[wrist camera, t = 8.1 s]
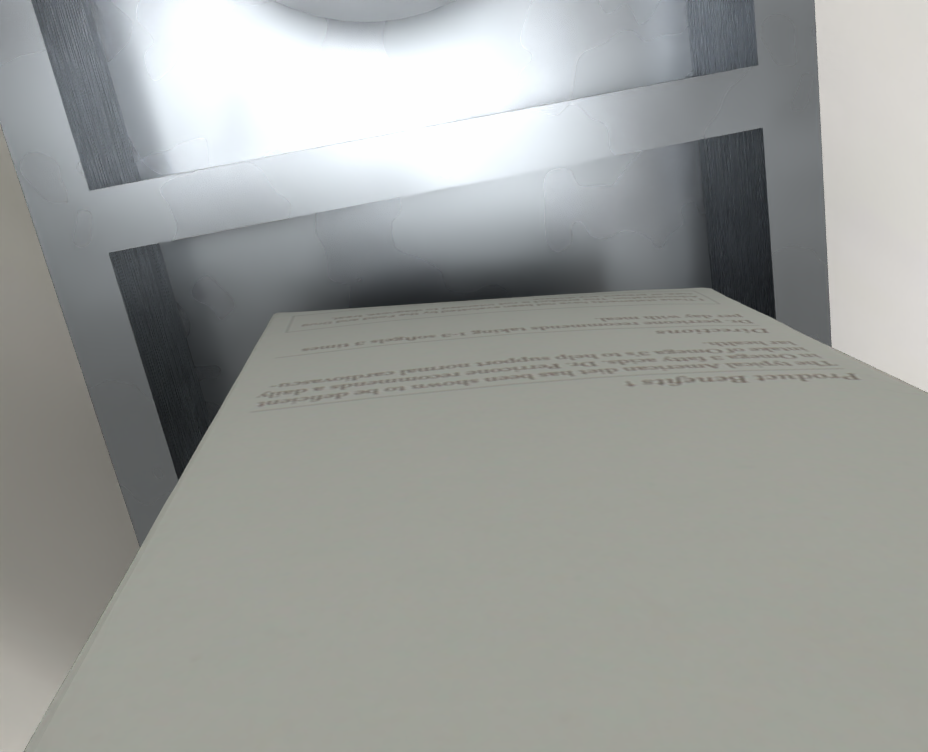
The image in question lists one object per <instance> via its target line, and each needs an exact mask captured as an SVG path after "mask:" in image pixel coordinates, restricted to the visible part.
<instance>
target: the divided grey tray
mask: <svg viewBox="0 0 928 752" xmlns="http://www.w3.org/2000/svg"><path fill="white" fill-rule="evenodd" d="M0 124H1V128H2V131H3V134H4V137H5V140H6V143H7V146H8V149H9V152H10V155H11V158H12V161H13V164H14V167H15V170H16V173H17V176H18V179H19V182H20V185H21V188H22V191H23V194H24V197H25V200H26V203H27V206H28V209H29V212H30V215H31V218H32V221H33V224H34V227H35V231H36V234H37V237H38V240H39V243H40V246H41V249H42V252H43V255H44V258H45V261H46V264H47V267H48V270H49V273H50V276H51V279H52V282H53V285H54V288H55V291H56V294H57V297H58V300H59V303H60V306H61V309H62V312H63V315H64V318H65V321H66V324H67V327H68V331H69V334H70V337H71V340H72V343H73V346H74V349H75V352H76V355H77V358H78V361H79V364H80V367H81V370H82V373H83V376H84V379H85V382H86V385H87V388H88V391H89V394H90V397H91V400H92V403H93V406H94V409H95V412H96V415H97V418H98V421H99V424H100V427H101V430H102V434H103V437H104V440H105V443H106V446H107V449H108V452H109V455H110V458H111V461H112V464H113V467H114V470H115V473H116V476H117V479H118V482H119V485H120V488H121V491H122V494H123V497H124V500H125V503H126V506H127V509H128V512H129V515H130V518H131V521H132V524H133V527H134V530H135V534H136V537H137V540H138V543H139V546H140V547H141V545H142V544H143V542H144V540H145V538H146V537H147V535H148V533H149V531H150V529H151V528H152V526H153V524H154V522H155V520H156V519H157V517H158V515H159V513H160V511H161V510H162V508H163V506H164V504H165V503H166V501H167V499H168V498H169V496H170V494H171V493H172V491H173V489H174V488H175V486H176V484H177V483H178V481H179V479H180V477H181V475H182V474H183V472H184V470H185V468H186V466H187V465H188V463H189V461H190V459H191V458H192V456H193V454H194V452H195V451H196V449H197V447H198V445H199V443H200V442H201V440H202V438H203V436H204V435H205V433H206V431H207V430H208V428H209V426H210V425H211V423H212V421H213V419H214V418H215V416H216V414H217V413H218V411H219V409H220V407H221V406H222V404H223V402H224V400H225V399H226V397H227V395H228V393H229V391H230V390H231V388H232V386H233V385H234V383H235V381H236V379H237V378H238V376H239V374H240V373H241V371H242V369H243V367H244V365H245V364H246V362H247V360H248V358H249V356H250V355H251V353H252V351H253V349H254V348H255V346H256V344H257V342H258V341H259V339H260V337H261V336H262V334H263V332H264V331H265V329H266V327H267V325H268V323H269V321H270V320H271V318H272V316H273V314H276V313H283V312H305V311H320V310H335V309H349V308H364V307H379V306H394V305H409V304H424V303H439V302H454V301H469V300H484V299H500V298H515V297H530V296H545V295H561V294H578V293H595V292H612V291H629V290H654V289H684V288H711V289H713V290H715V291H717V292H719V293H721V294H722V295H724V296H726V297H728V298H730V299H733V300H735V301H737V302H739V303H741V304H743V305H745V306H747V307H750V308H752V309H754V310H756V311H758V312H760V313H763V314H765V315H767V316H769V317H771V318H773V319H775V320H777V321H779V322H781V323H783V324H785V325H787V326H789V327H791V328H792V329H794V330H796V331H798V332H800V333H802V334H804V335H807V336H809V337H811V338H813V339H815V340H817V341H819V342H821V343H823V344H826V345H828V346H830V347H832V346H831V326H830V306H829V285H828V265H827V245H826V225H825V205H824V185H823V164H822V144H821V124H820V104H819V84H818V64H817V43H816V23H815V3H814V0H455V1H453V2H450V3H448V4H446V5H443V6H441V7H438V8H436V9H434V10H431V11H429V12H426V13H422V14H418V15H414V16H410V17H406V18H402V19H396V20H387V21H378V22H357V21H341V20H336V19H330V18H324V17H318V16H314V15H311V14H308V13H305V12H302V11H299V10H295V9H292V8H289V7H287V6H285V5H283V4H280V3H278V2H276V1H274V0H0Z"/></svg>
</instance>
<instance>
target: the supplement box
mask: <svg viewBox="0 0 928 752" xmlns="http://www.w3.org/2000/svg"><path fill="white" fill-rule="evenodd" d="M24 752H928V393H927V392H925V391H923V390H921V389H919V388H916V387H914V386H912V385H910V384H908V383H906V382H904V381H902V380H900V379H898V378H896V377H893V376H891V375H889V374H887V373H885V372H883V371H880V370H878V369H876V368H874V367H872V366H870V365H868V364H866V363H864V362H862V361H859V360H857V359H855V358H853V357H851V356H849V355H847V354H845V353H843V352H840V351H838V350H836V349H834V348H832V347H830V346H828V345H826V344H823V343H821V342H819V341H817V340H815V339H813V338H811V337H809V336H807V335H804V334H802V333H800V332H798V331H796V330H794V329H792V328H791V327H789V326H787V325H785V324H783V323H781V322H779V321H777V320H775V319H773V318H771V317H769V316H767V315H765V314H763V313H760V312H758V311H756V310H754V309H752V308H750V307H747V306H745V305H743V304H741V303H739V302H737V301H735V300H733V299H730V298H728V297H726V296H724V295H722V294H721V293H719V292H717V291H715V290H713V289H711V288H684V289H654V290H629V291H612V292H595V293H578V294H561V295H545V296H530V297H515V298H500V299H484V300H469V301H454V302H439V303H424V304H409V305H394V306H379V307H364V308H349V309H335V310H320V311H305V312H283V313H276V314H273V316H272V318H271V320H270V321H269V323H268V325H267V327H266V329H265V331H264V332H263V334H262V336H261V337H260V339H259V341H258V342H257V344H256V346H255V348H254V349H253V351H252V353H251V355H250V356H249V358H248V360H247V362H246V364H245V365H244V367H243V369H242V371H241V373H240V374H239V376H238V378H237V379H236V381H235V383H234V385H233V386H232V388H231V390H230V391H229V393H228V395H227V397H226V399H225V400H224V402H223V404H222V406H221V407H220V409H219V411H218V413H217V414H216V416H215V418H214V419H213V421H212V423H211V425H210V426H209V428H208V430H207V431H206V433H205V435H204V436H203V438H202V440H201V442H200V443H199V445H198V447H197V449H196V451H195V452H194V454H193V456H192V458H191V459H190V461H189V463H188V465H187V466H186V468H185V470H184V472H183V474H182V475H181V477H180V479H179V481H178V483H177V484H176V486H175V488H174V489H173V491H172V493H171V494H170V496H169V498H168V499H167V501H166V503H165V504H164V506H163V508H162V510H161V511H160V513H159V515H158V517H157V519H156V520H155V522H154V524H153V526H152V528H151V529H150V531H149V533H148V535H147V537H146V538H145V540H144V542H143V544H142V545H141V547H140V549H139V551H138V553H137V554H136V556H135V558H134V560H133V562H132V563H131V565H130V567H129V569H128V571H127V572H126V574H125V576H124V578H123V580H122V581H121V583H120V585H119V586H118V588H117V590H116V592H115V593H114V595H113V597H112V599H111V600H110V602H109V604H108V606H107V607H106V609H105V611H104V612H103V614H102V616H101V618H100V619H99V621H98V623H97V625H96V626H95V628H94V630H93V632H92V633H91V635H90V637H89V638H88V640H87V642H86V644H85V645H84V647H83V649H82V651H81V652H80V654H79V656H78V658H77V659H76V661H75V663H74V665H73V666H72V668H71V670H70V671H69V673H68V675H67V677H66V678H65V680H64V682H63V684H62V685H61V687H60V689H59V691H58V692H57V694H56V696H55V697H54V699H53V701H52V703H51V704H50V706H49V708H48V710H47V711H46V713H45V715H44V717H43V718H42V720H41V722H40V724H39V726H38V727H37V729H36V731H35V733H34V734H33V736H32V738H31V740H30V741H29V743H28V745H27V747H26V748H25V750H24Z"/></svg>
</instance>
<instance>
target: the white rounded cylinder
mask: <svg viewBox="0 0 928 752" xmlns="http://www.w3.org/2000/svg"><path fill="white" fill-rule="evenodd" d="M274 1H276V2H278V3H280V4H283V5H285V6H287V7H289V8H292V9H295V10H299V11H302V12H305V13H308V14H311V15H314V16H318V17H324V18H330V19H336V20H341V21H357V22H378V21H387V20H396V19H402V18H406V17H410V16H414V15H418V14H422V13H426V12H429V11H431V10H434V9H436V8H438V7H441V6H443V5H446V4H448V3H450V2H453V1H455V0H274Z"/></svg>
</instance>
